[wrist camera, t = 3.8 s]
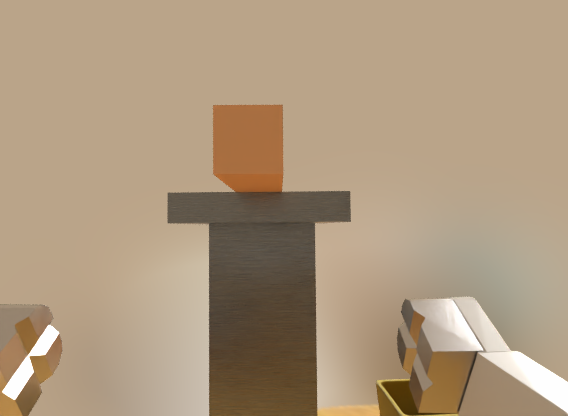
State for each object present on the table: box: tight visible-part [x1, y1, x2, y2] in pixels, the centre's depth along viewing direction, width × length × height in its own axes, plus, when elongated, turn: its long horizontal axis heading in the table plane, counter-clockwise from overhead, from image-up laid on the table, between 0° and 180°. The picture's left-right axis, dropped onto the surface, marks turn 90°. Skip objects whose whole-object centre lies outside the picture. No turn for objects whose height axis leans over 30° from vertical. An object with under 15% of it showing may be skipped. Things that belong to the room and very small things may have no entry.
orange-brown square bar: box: [213, 105, 283, 192], centre depth 29 cm, size 24×3×3 cm, turn 1°
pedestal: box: [168, 191, 351, 416], centre depth 33 cm, size 16×12×28 cm
